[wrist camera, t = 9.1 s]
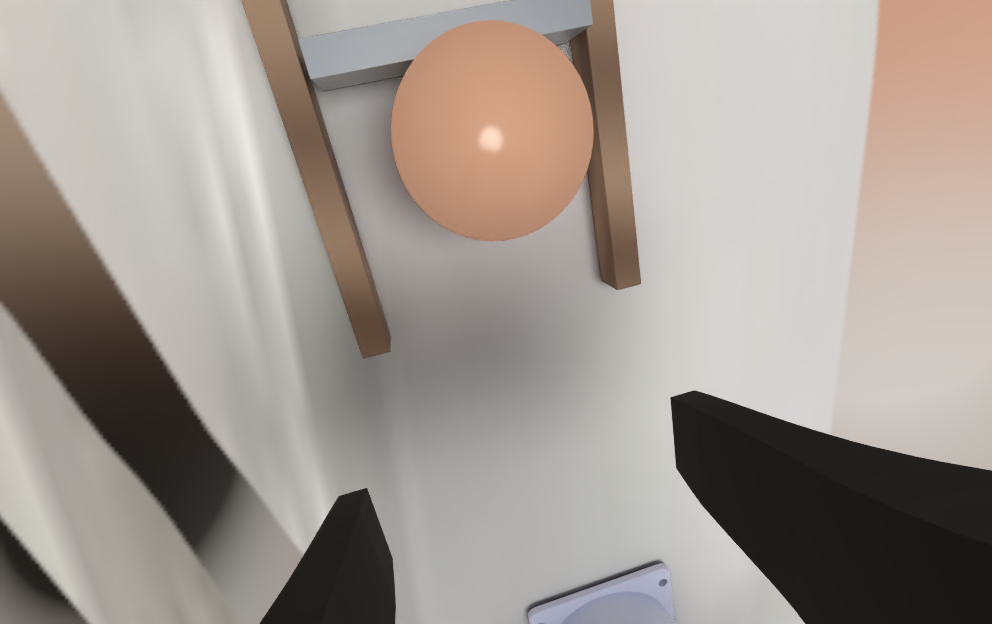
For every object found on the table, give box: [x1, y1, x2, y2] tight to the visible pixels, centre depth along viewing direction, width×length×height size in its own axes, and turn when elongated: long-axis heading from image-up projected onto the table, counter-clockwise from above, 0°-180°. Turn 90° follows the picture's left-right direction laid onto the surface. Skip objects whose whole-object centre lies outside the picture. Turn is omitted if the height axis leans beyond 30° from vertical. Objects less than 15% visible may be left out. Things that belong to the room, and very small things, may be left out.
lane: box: [242, 0, 641, 359], centre depth 16 cm, size 14×11×2 cm
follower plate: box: [298, 0, 593, 91], centre depth 14 cm, size 1×8×2 cm, turn 103°
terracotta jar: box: [391, 20, 594, 241], centre depth 14 cm, size 5×5×6 cm
